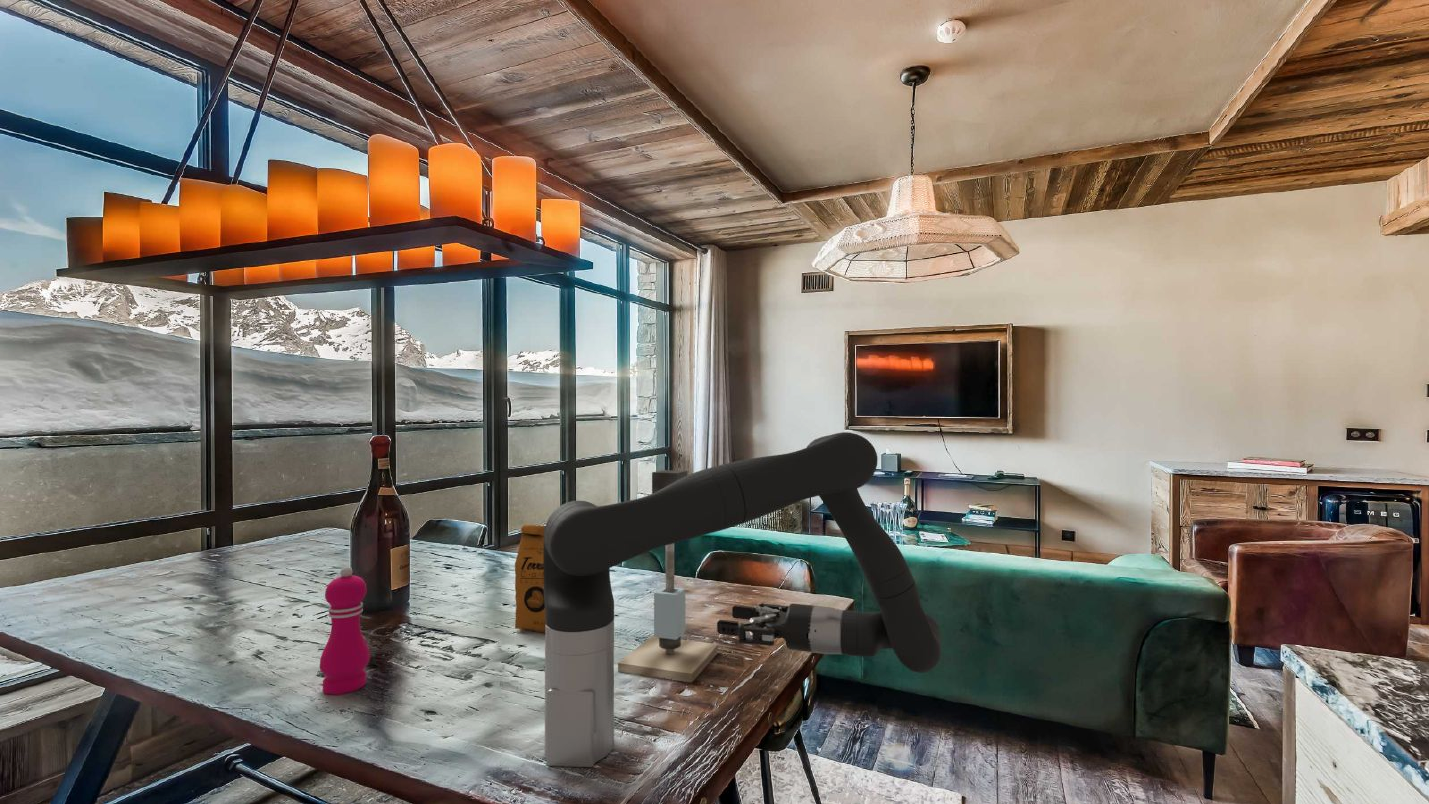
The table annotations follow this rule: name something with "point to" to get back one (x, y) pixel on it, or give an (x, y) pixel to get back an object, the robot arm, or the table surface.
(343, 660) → the pepper mill
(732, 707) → the table surface
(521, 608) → the coffee package
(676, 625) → the sleeve
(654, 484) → the rod stand
